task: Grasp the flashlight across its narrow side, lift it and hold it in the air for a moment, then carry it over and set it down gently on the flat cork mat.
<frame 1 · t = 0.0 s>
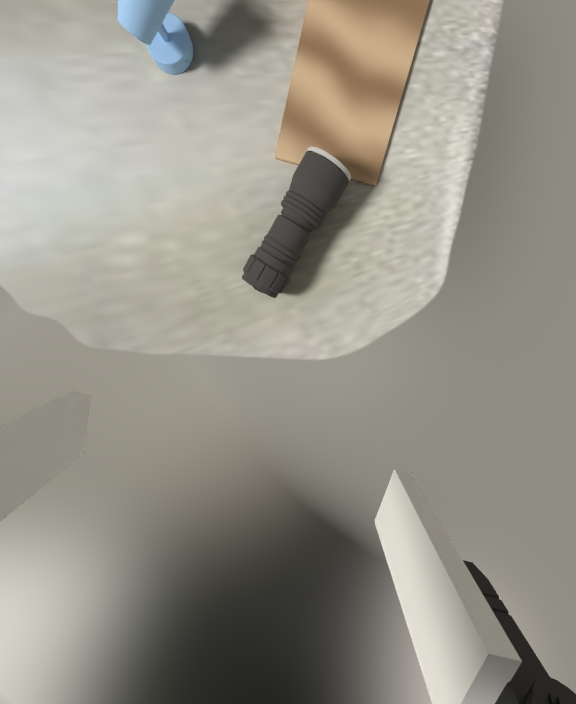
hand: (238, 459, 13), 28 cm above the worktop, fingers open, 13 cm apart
flashlight: (293, 230, 37), on the worktop, touching mat
spotlight: (175, 47, 33), on the worktop
mat: (350, 72, 33), on the worktop
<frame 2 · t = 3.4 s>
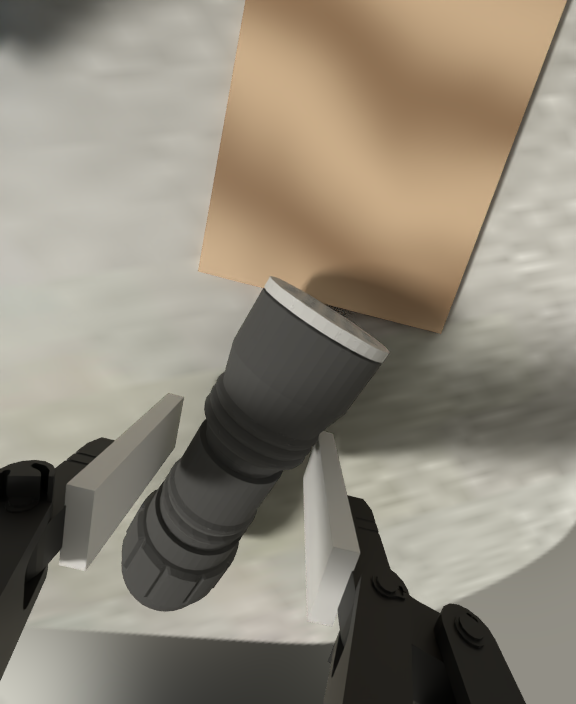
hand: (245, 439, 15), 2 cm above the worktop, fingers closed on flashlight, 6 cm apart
flashlight: (249, 419, 17), on the worktop, touching gripper, mat
mat: (385, 65, 13), on the worktop
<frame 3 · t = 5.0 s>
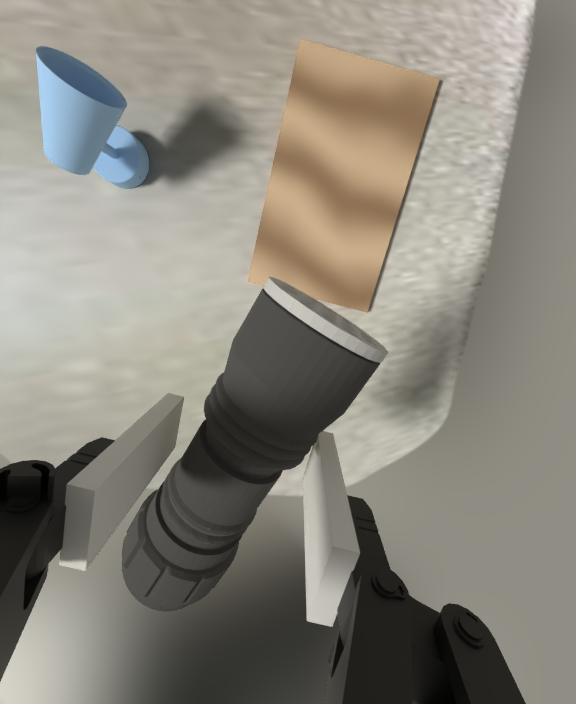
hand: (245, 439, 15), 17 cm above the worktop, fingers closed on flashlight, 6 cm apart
flashlight: (249, 419, 17), point 15 cm above the worktop, touching gripper
spotlight: (128, 158, 28), on the worktop
mat: (336, 188, 28), on the worktop
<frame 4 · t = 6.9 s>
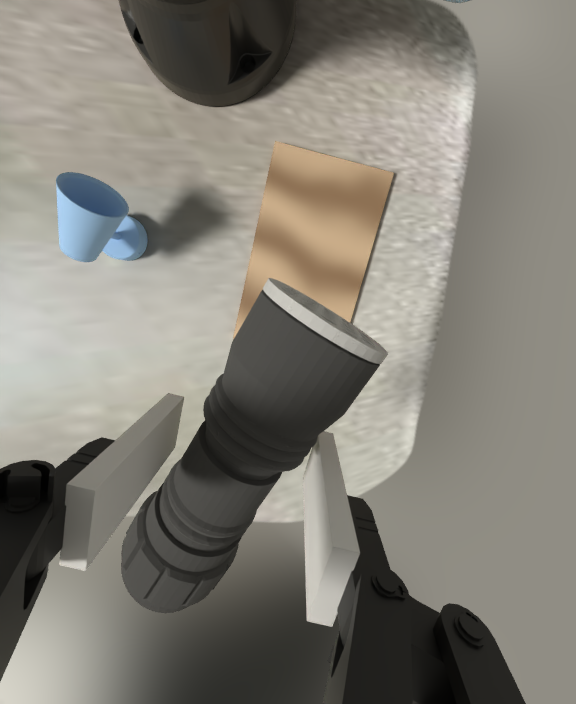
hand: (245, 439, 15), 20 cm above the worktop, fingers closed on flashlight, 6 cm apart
flashlight: (249, 420, 17), point 18 cm above the worktop, touching gripper
spotlight: (129, 235, 33), on the worktop
mat: (308, 260, 32), on the worktop
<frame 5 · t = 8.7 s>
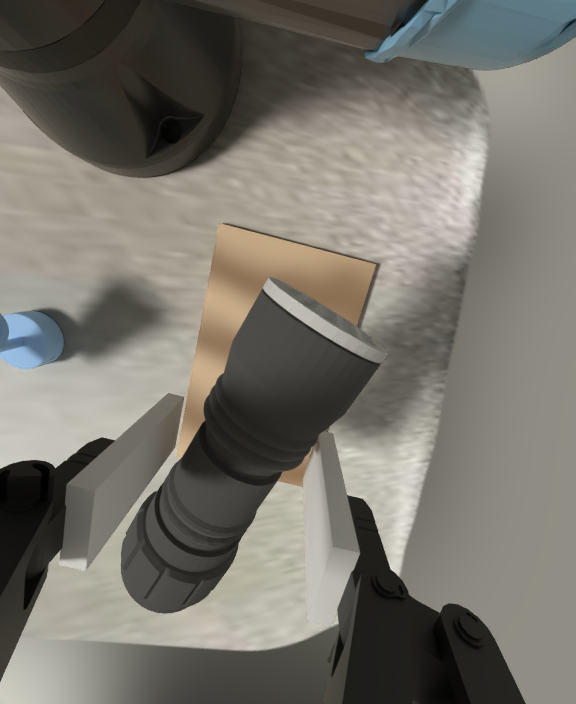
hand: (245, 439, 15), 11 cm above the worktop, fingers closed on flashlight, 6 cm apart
flashlight: (249, 420, 17), point 9 cm above the worktop, touching gripper
spotlight: (41, 333, 26), on the worktop
mat: (267, 367, 26), on the worktop
when the fingers open (3 cm above the worktop, at t = 10.4 s): flashlight stays where it is, resting on mat.
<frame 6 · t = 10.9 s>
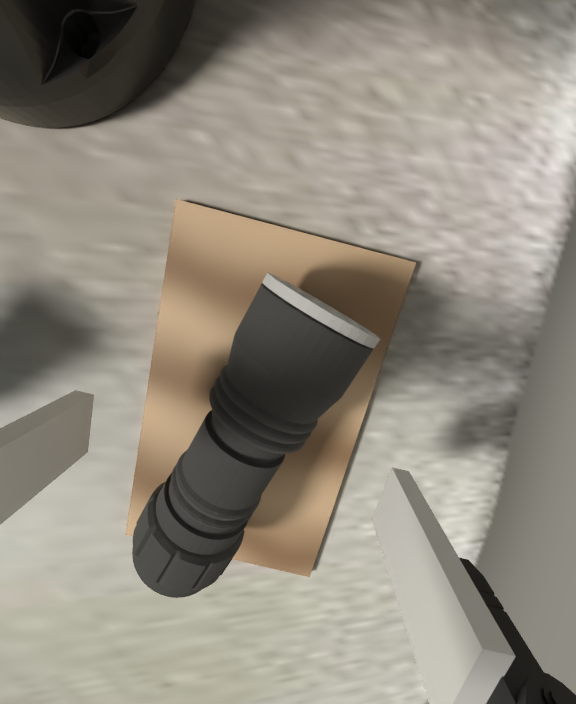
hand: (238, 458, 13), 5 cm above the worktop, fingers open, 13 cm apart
flashlight: (251, 412, 17), resting on mat
mat: (253, 412, 18), on the worktop
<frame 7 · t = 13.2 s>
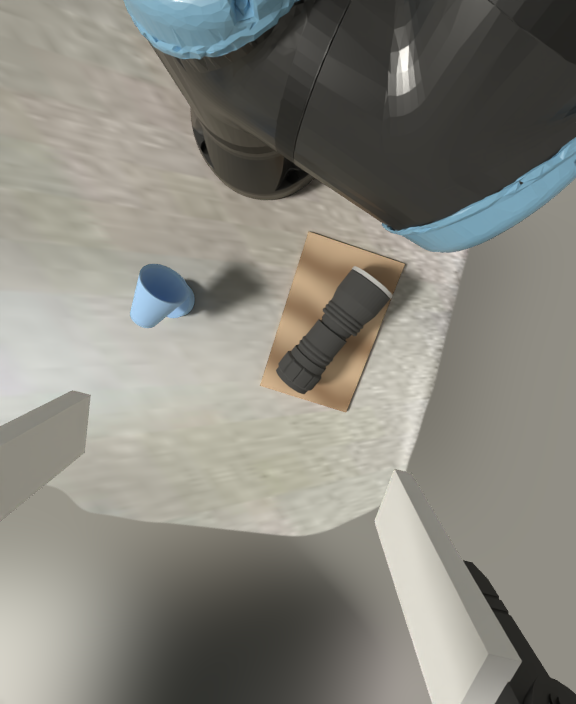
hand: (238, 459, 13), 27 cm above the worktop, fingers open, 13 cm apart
flashlight: (328, 327, 39), resting on mat
spotlight: (179, 295, 39), on the worktop
mat: (328, 327, 39), on the worktop
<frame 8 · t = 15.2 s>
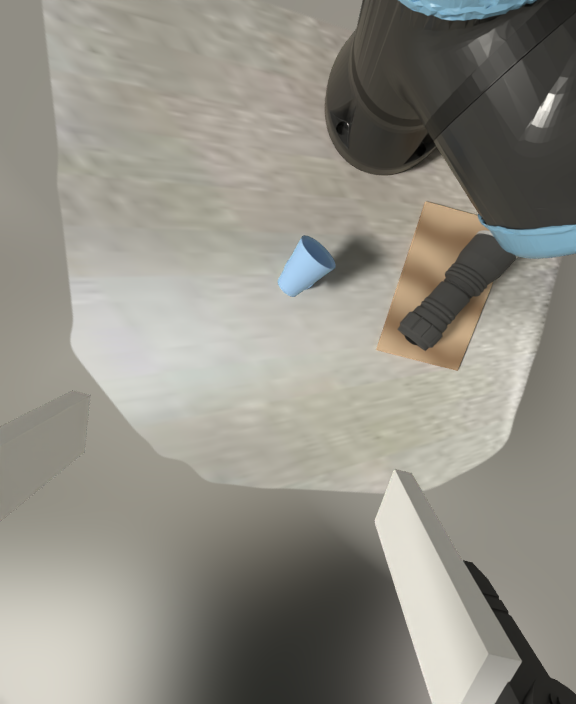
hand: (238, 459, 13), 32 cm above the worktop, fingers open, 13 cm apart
flashlight: (442, 291, 42), resting on mat
spotlight: (302, 270, 42), on the worktop
mat: (441, 291, 42), on the worktop
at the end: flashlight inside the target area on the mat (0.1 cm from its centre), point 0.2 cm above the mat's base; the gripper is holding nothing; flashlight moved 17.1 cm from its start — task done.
